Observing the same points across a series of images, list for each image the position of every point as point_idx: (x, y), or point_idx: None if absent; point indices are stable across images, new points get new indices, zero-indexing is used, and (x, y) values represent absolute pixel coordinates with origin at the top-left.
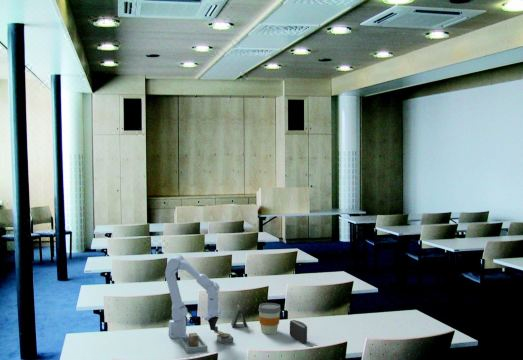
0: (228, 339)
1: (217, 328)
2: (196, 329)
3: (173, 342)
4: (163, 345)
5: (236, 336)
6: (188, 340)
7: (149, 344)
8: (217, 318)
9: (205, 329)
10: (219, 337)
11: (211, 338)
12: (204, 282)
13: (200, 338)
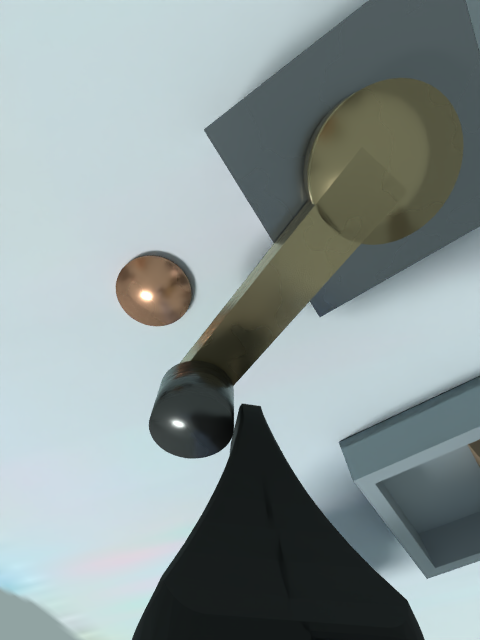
0: (466, 65)
1: (201, 382)
2: (55, 533)
3: (406, 565)
4: (471, 588)
5: (37, 48)
6: (400, 511)
7: (450, 636)
8: (274, 619)
9: (10, 482)
10: (433, 250)
11: None
12: None
13: (436, 452)
